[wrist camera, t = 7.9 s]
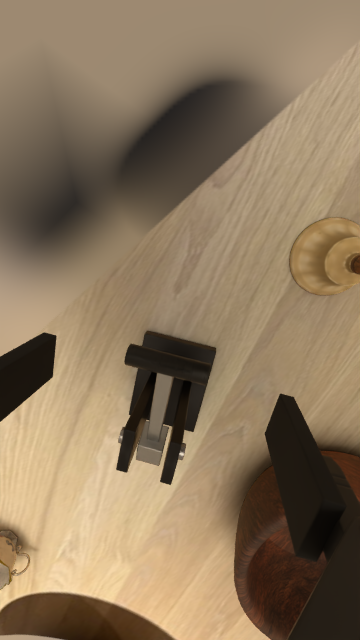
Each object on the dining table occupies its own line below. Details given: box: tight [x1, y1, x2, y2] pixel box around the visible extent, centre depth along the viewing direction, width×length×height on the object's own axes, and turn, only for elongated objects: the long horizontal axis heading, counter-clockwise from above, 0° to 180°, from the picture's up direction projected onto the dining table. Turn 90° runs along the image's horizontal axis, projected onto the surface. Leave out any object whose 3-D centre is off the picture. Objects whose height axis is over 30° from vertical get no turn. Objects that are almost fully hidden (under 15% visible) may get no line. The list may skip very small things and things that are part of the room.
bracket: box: [116, 331, 216, 485], centre depth 31 cm, size 12×9×14 cm
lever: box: [125, 344, 211, 466], centre depth 22 cm, size 13×6×2 cm, turn 168°
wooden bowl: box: [234, 451, 360, 640], centre depth 35 cm, size 25×25×10 cm
